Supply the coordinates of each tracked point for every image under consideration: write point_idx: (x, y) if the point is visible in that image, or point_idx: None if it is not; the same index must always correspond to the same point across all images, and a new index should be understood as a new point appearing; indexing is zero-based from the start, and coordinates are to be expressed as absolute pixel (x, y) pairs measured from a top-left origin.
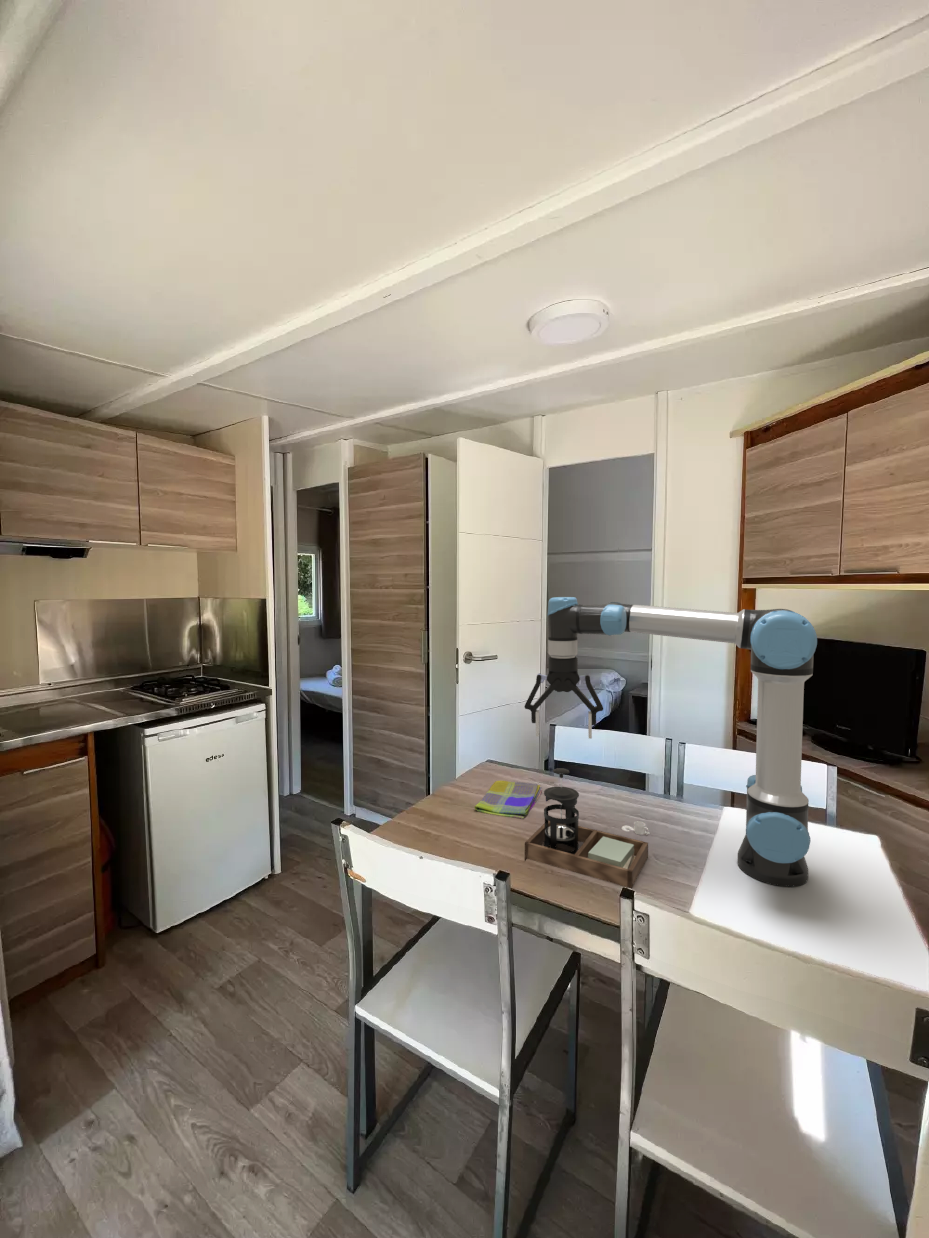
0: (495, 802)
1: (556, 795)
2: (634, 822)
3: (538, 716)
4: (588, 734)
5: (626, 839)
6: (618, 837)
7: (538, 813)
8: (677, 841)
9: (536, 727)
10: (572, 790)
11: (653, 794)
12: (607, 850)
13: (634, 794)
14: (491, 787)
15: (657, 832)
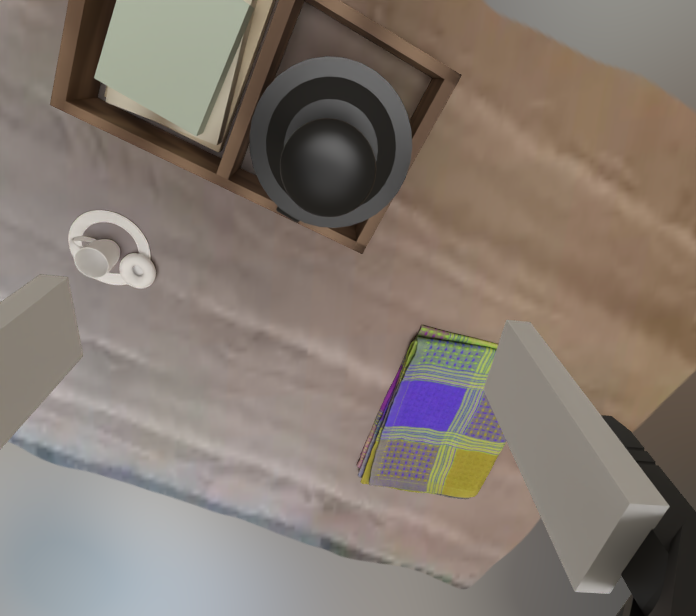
0: (487, 399)
1: (357, 102)
2: (107, 270)
3: (596, 455)
4: (77, 358)
5: (122, 128)
6: (148, 140)
7: (377, 356)
8: (5, 227)
9: (558, 369)
10: (277, 185)
11: (77, 465)
12: (183, 27)
13: (125, 462)
14: (488, 470)
15: (61, 274)
